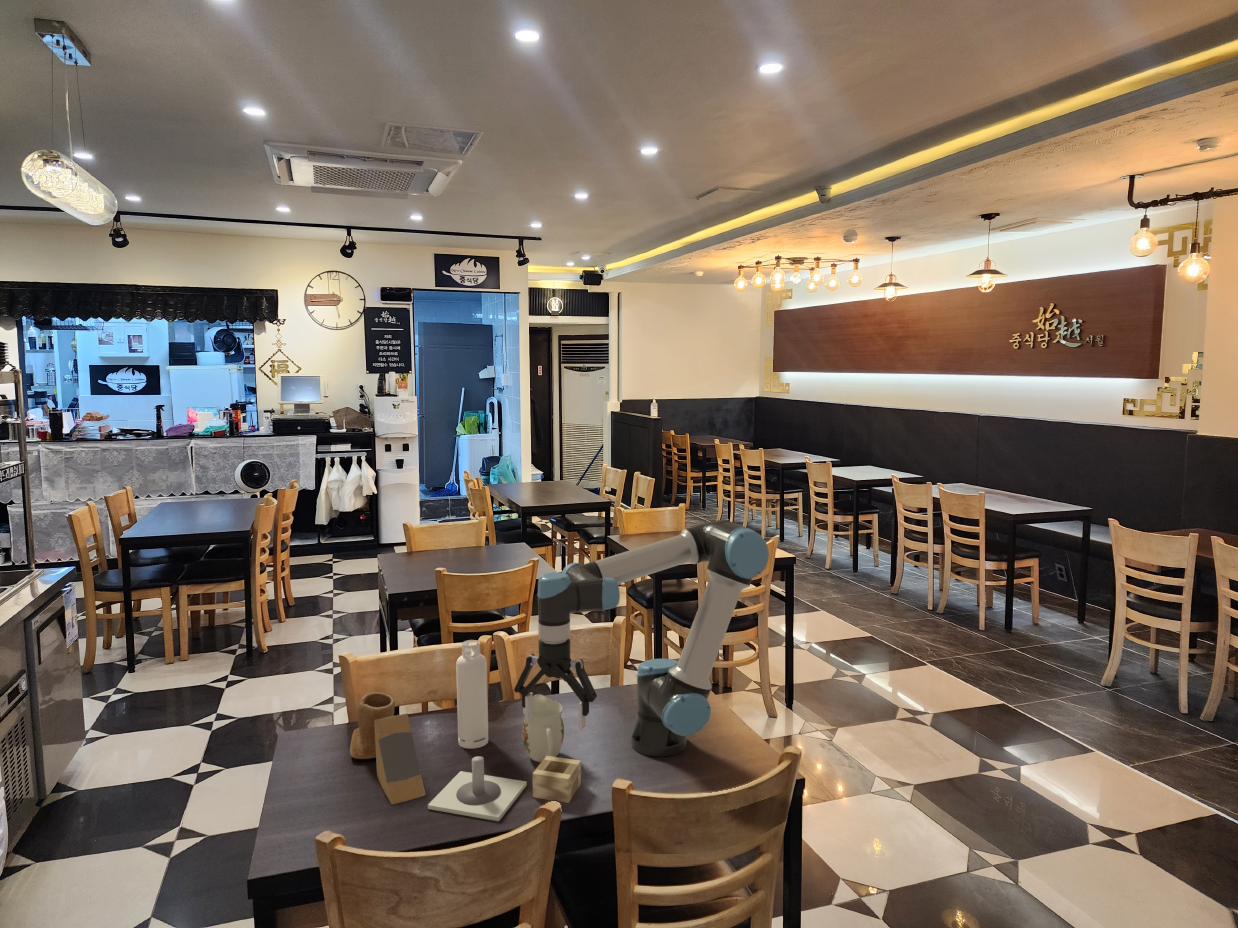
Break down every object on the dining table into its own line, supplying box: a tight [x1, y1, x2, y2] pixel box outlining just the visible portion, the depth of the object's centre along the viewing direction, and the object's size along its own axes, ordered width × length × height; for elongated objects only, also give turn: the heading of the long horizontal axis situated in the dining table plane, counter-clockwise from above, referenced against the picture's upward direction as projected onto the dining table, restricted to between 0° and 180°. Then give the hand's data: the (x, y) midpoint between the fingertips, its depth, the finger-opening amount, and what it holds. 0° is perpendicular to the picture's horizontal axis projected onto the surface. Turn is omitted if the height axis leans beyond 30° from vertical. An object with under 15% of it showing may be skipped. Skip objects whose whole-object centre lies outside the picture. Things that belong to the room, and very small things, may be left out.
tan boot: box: [349, 691, 396, 760], centre depth 211 cm, size 15×12×15 cm
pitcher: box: [521, 693, 565, 763], centre depth 206 cm, size 11×18×14 cm, turn 16°
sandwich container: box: [374, 712, 426, 805], centre depth 192 cm, size 9×15×15 cm, turn 30°
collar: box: [532, 756, 582, 804], centre depth 191 cm, size 9×9×6 cm
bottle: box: [455, 639, 489, 750], centre depth 214 cm, size 8×8×28 cm
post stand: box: [427, 756, 528, 822], centre depth 187 cm, size 18×16×10 cm
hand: (555, 723), depth 189 cm, fingers open, 13 cm apart
